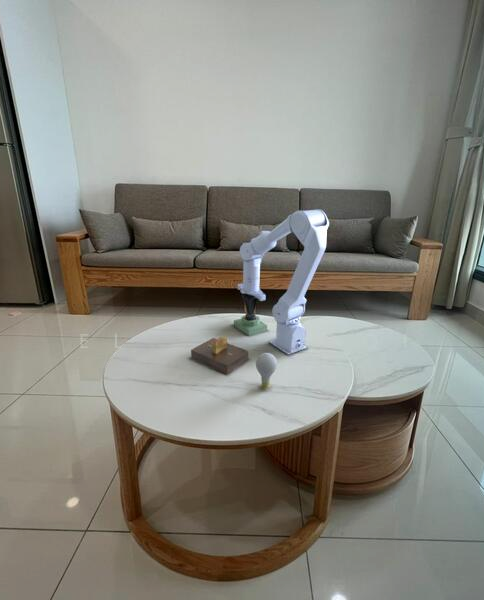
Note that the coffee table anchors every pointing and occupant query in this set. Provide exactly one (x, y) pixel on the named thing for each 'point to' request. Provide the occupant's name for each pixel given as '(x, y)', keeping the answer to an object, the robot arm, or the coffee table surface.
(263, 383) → the light bulb
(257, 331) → the block
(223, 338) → the thumb turn
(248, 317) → the alarm button
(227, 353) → the plate
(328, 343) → the coffee table surface
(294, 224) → the robot arm
